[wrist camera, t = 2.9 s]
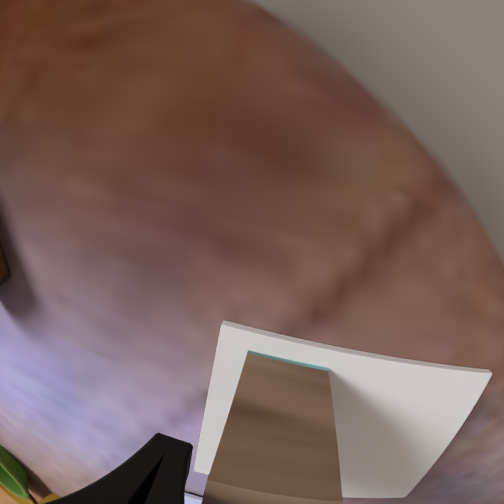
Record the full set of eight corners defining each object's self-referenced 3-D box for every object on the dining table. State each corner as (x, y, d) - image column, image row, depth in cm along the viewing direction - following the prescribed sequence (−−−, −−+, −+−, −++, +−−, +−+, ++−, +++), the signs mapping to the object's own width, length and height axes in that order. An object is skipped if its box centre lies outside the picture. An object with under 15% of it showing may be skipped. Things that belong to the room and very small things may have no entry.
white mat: (404, 492, 17) (405, 497, 16) (195, 465, 18) (193, 470, 17) (488, 369, 14) (492, 373, 13) (223, 320, 15) (221, 324, 15)
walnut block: (304, 424, 15) (300, 547, 8) (233, 409, 16) (195, 529, 8) (327, 367, 15) (342, 501, 7) (248, 349, 15) (207, 479, 7)
